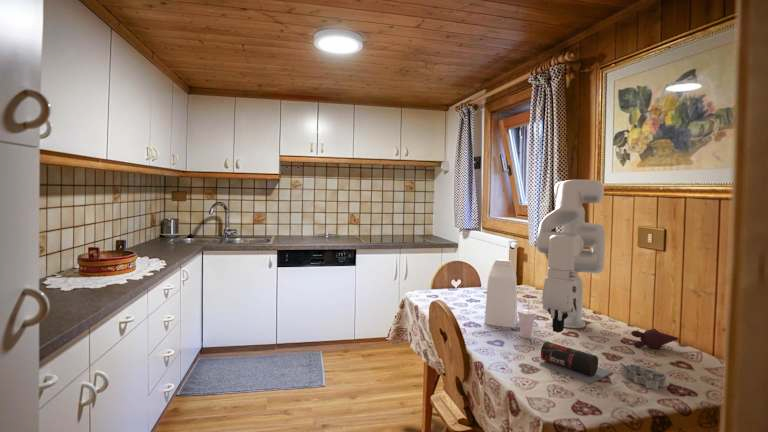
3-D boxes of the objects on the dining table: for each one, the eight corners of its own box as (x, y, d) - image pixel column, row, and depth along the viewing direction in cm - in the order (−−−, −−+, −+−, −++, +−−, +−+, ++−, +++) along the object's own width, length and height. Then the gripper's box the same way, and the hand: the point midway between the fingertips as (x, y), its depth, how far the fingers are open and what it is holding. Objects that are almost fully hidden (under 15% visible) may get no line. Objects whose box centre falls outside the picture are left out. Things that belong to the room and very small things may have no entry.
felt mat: (562, 355, 137) (563, 354, 137) (612, 373, 124) (612, 372, 124) (539, 364, 129) (539, 363, 129) (589, 384, 116) (590, 382, 116)
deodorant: (551, 349, 135) (599, 363, 123) (543, 363, 132) (592, 380, 120) (546, 337, 132) (595, 351, 121) (538, 352, 129) (588, 368, 118)
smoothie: (536, 340, 150) (537, 302, 150) (517, 339, 152) (519, 301, 151) (533, 334, 157) (534, 298, 156) (515, 333, 158) (517, 297, 157)
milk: (484, 323, 169) (486, 261, 168) (488, 316, 180) (490, 257, 178) (514, 327, 164) (517, 263, 163) (517, 319, 175) (519, 259, 174)
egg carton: (617, 375, 123) (617, 362, 123) (634, 372, 126) (635, 359, 125) (652, 391, 113) (652, 377, 113) (670, 387, 116) (671, 373, 115)
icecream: (670, 327, 149) (626, 328, 151) (682, 328, 142) (635, 329, 144) (674, 347, 147) (629, 348, 149) (685, 349, 140) (638, 350, 142)
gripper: (590, 277, 125) (587, 336, 126) (546, 269, 138) (543, 323, 139) (576, 279, 121) (573, 340, 122) (532, 271, 133) (530, 326, 134)
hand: (557, 331), depth 130 cm, fingers closed
